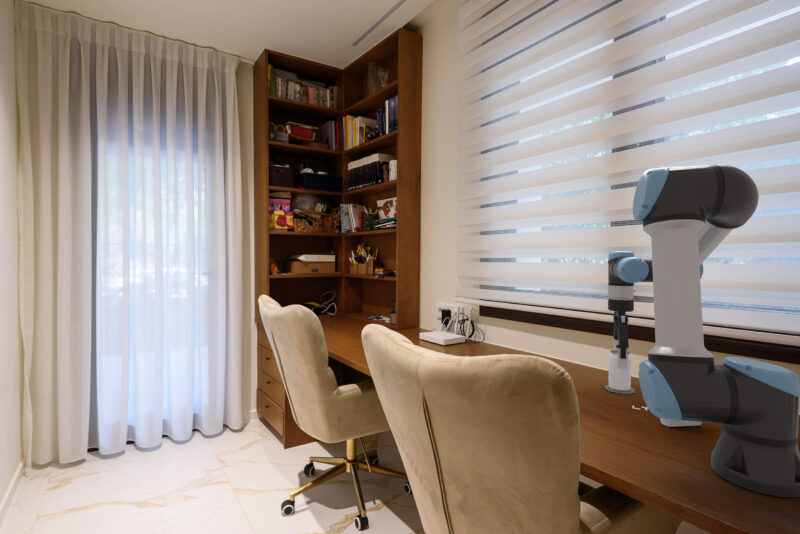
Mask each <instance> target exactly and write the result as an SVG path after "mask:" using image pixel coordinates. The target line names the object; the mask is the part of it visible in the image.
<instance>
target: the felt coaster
mask: <svg viewBox="0 0 800 534" xmlns="http://www.w3.org/2000/svg"><path fill="white" fill-rule="evenodd" d="M603 387H604V388H605V389H606V390H605V389H604V388H603V389H604V390H605V391H607V390H608V391H607V392H609V391H611V392H610V393H612V392H615V393H614V394H616V393H621V394H620V395H626V394H627V395H633V394H632V393H634V394H635V393H636V389H635V388H633V387H631V389H630V390H629V391H617V390H613V389H611V388H610V387H609V383H608V384H605V385H604V386H603Z"/></svg>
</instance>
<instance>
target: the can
mask: <svg viewBox="0 0 800 534" xmlns="http://www.w3.org/2000/svg"><path fill="white" fill-rule="evenodd" d="M631 383H632V357H631V355H630V352H629V351H628V369H618V350H614V349H613V350H610V353H609V356H608V384H609V387H610V388H611V389H613V390H617V391H629V390H630V389H631V386H632V384H631Z"/></svg>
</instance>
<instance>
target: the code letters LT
mask: <svg viewBox="0 0 800 534" xmlns="http://www.w3.org/2000/svg"><path fill="white" fill-rule="evenodd" d="M631 407H632V409H634V410H639V411H641V408H642V409H643V408H644V410H645V411H648V407H647V406H641V408H638V407H635V405H631Z"/></svg>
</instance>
